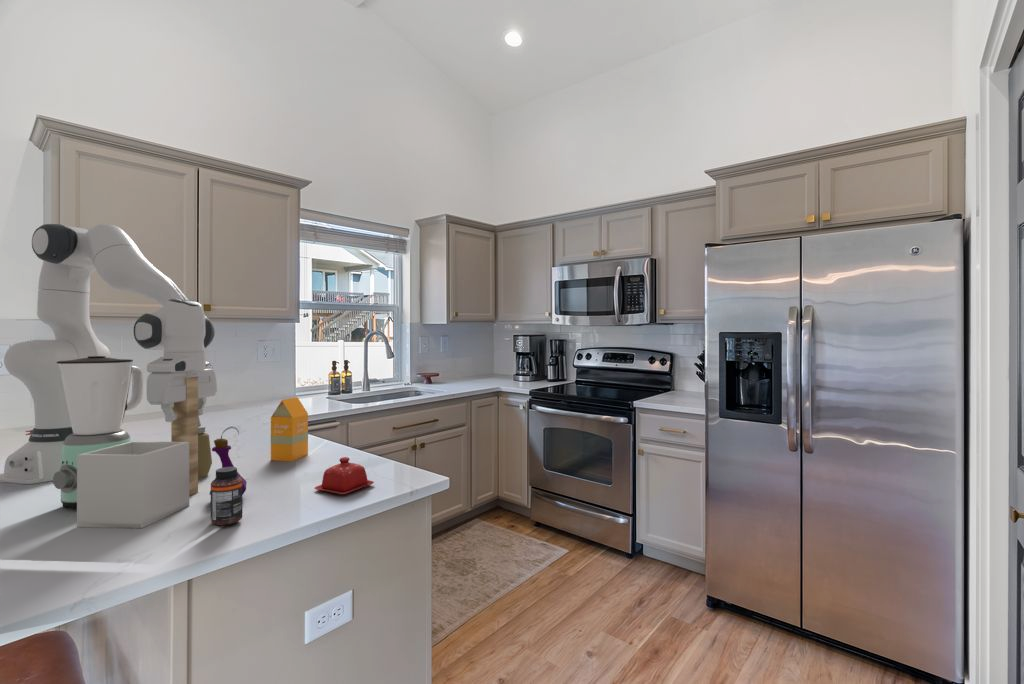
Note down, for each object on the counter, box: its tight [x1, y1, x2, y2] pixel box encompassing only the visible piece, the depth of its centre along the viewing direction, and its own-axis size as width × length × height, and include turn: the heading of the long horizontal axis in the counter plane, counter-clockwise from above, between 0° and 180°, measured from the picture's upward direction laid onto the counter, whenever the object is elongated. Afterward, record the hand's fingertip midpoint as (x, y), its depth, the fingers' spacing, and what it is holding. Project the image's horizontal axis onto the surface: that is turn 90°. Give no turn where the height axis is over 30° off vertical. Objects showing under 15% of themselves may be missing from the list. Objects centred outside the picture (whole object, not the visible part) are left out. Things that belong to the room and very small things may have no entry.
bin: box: [76, 440, 190, 529], centre depth 109 cm, size 14×14×15 cm
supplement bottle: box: [210, 466, 243, 526], centre depth 106 cm, size 6×6×11 cm
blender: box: [52, 356, 144, 508], centre depth 119 cm, size 19×13×35 cm
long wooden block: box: [170, 377, 199, 497], centre depth 124 cm, size 4×4×30 cm
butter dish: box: [314, 456, 375, 495], centre depth 130 cm, size 12×12×8 cm
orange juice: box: [270, 396, 309, 462], centre depth 161 cm, size 8×9×20 cm
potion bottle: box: [209, 425, 247, 496], centre depth 120 cm, size 8×8×18 cm
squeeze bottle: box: [198, 416, 213, 480], centre depth 140 cm, size 8×8×18 cm
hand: (184, 418), depth 124 cm, fingers open, 8 cm apart
